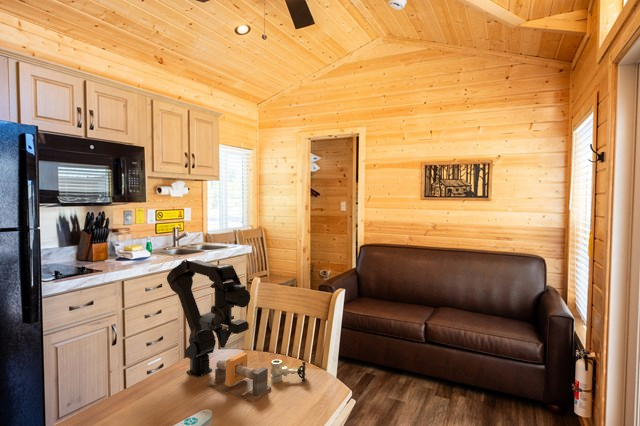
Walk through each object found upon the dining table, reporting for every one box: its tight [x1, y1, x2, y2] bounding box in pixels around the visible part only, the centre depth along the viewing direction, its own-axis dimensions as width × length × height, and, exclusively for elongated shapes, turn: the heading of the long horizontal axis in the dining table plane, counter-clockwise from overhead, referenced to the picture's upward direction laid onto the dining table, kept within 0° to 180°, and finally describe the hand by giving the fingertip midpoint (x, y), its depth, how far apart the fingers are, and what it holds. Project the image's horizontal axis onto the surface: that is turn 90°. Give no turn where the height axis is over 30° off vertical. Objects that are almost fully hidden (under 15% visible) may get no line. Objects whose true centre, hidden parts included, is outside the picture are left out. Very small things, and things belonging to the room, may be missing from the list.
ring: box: [226, 352, 248, 387], centre depth 126 cm, size 2×8×8 cm, turn 149°
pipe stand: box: [206, 358, 272, 403], centre depth 125 cm, size 20×9×8 cm, turn 59°
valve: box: [270, 359, 307, 383], centre depth 131 cm, size 7×7×12 cm
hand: (222, 347), depth 129 cm, fingers closed
